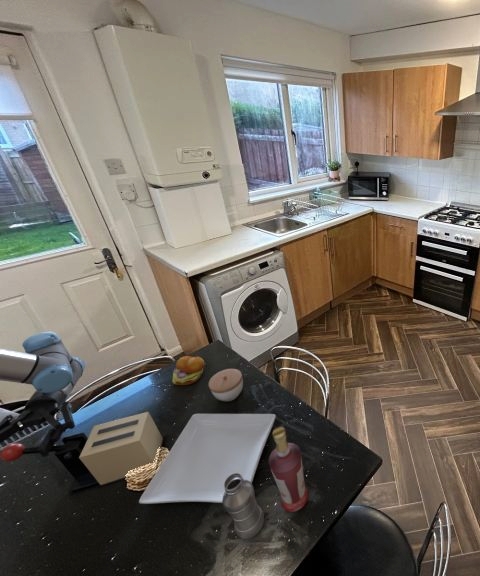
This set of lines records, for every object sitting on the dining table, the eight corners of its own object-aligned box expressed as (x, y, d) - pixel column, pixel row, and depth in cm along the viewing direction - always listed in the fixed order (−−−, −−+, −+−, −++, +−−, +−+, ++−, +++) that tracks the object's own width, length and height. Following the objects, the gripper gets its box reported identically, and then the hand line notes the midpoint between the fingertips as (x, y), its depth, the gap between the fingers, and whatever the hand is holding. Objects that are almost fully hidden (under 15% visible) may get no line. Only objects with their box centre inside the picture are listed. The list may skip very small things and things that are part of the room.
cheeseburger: (169, 377, 120) (168, 355, 117) (200, 369, 127) (200, 348, 124) (175, 392, 113) (174, 369, 110) (207, 383, 121) (207, 361, 117)
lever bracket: (72, 493, 83) (45, 462, 77) (86, 462, 91) (62, 432, 84) (100, 484, 85) (76, 454, 79) (111, 455, 93) (90, 425, 86)
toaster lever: (-3, 466, 75) (-5, 454, 74) (7, 451, 78) (5, 440, 77) (76, 458, 82) (76, 447, 80) (82, 445, 85) (82, 434, 84)
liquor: (313, 505, 81) (299, 437, 67) (285, 521, 78) (265, 453, 64) (304, 480, 87) (290, 413, 73) (278, 494, 83) (258, 426, 70)
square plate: (247, 510, 80) (244, 502, 78) (141, 510, 80) (135, 502, 78) (278, 420, 104) (276, 412, 102) (196, 420, 103) (192, 412, 101)
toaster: (100, 486, 85) (77, 457, 79) (112, 453, 93) (93, 425, 87) (156, 468, 89) (139, 440, 83) (163, 438, 98) (148, 410, 91)
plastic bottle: (271, 521, 78) (255, 475, 68) (248, 549, 73) (228, 504, 63) (254, 506, 81) (237, 460, 71) (231, 532, 76) (209, 486, 66)
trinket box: (211, 409, 107) (203, 390, 103) (217, 386, 116) (210, 368, 112) (244, 403, 110) (238, 384, 105) (247, 381, 119) (242, 362, 114)
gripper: (106, 394, 98) (78, 454, 80) (0, 420, 89) (-56, 492, 72) (95, 377, 94) (63, 435, 77) (-16, 402, 86) (-80, 474, 68)
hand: (5, 463), depth 74 cm, fingers open, 13 cm apart
